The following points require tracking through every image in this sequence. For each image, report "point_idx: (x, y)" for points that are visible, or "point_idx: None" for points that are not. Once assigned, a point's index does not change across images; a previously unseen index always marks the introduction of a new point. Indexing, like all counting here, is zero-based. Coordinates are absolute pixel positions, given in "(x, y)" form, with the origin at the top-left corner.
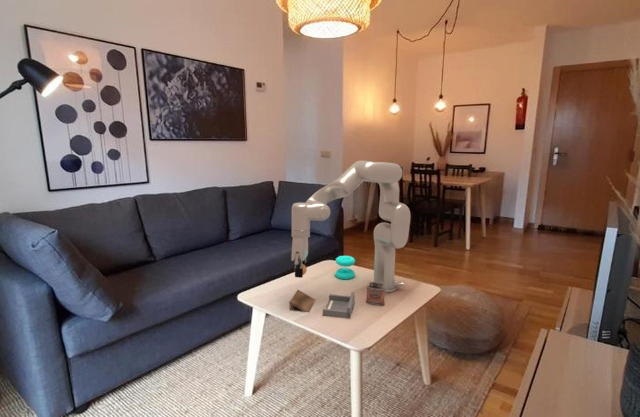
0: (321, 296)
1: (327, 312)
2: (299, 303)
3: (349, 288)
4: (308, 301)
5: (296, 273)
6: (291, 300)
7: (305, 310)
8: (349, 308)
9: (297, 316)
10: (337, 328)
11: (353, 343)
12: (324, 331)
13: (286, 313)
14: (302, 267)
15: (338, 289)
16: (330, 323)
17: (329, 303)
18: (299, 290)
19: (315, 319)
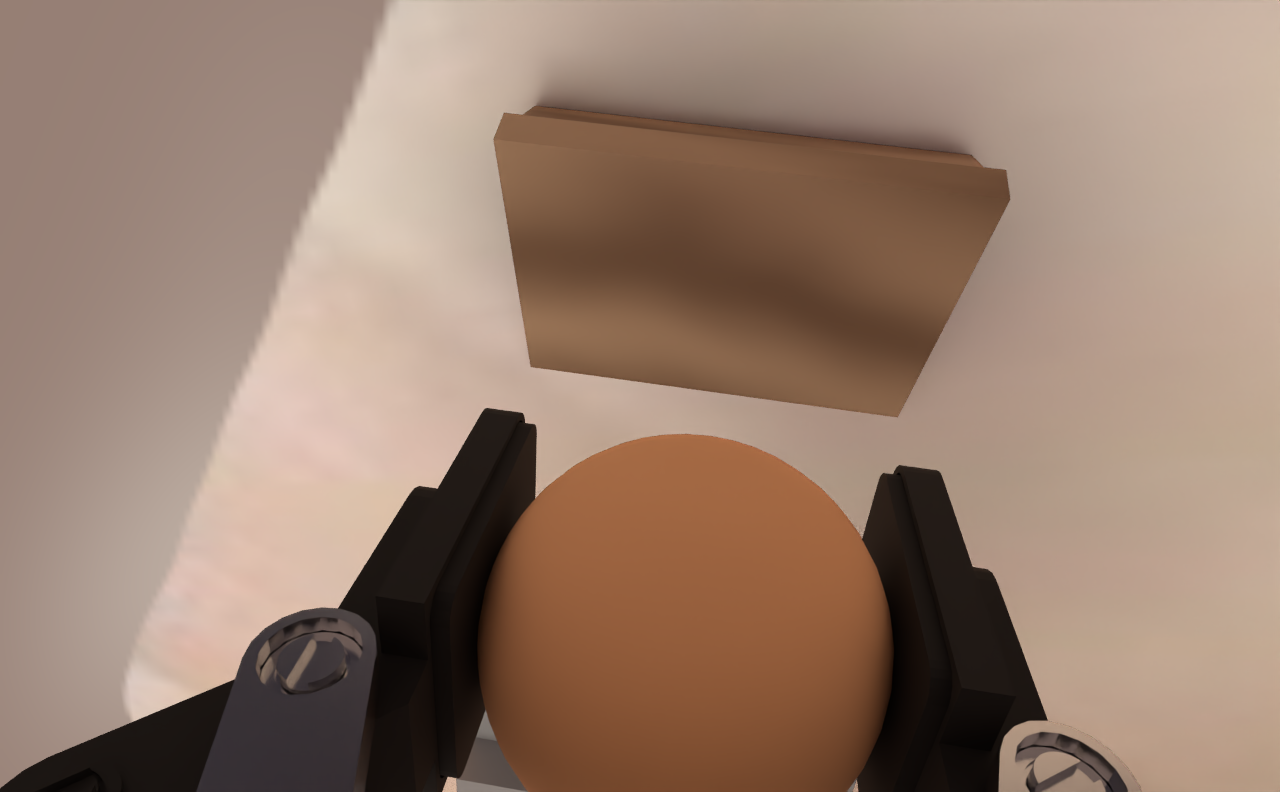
0: (1002, 480)
1: None
2: (591, 262)
3: (1219, 761)
4: (764, 352)
5: (394, 524)
6: (538, 155)
7: (527, 329)
8: (458, 790)
9: (397, 238)
10: (296, 612)
11: (139, 693)
12: (206, 519)
13: (435, 72)
14: (526, 789)
15: (1212, 661)
16: (359, 565)
17: None
18: (987, 228)
19: (390, 438)
